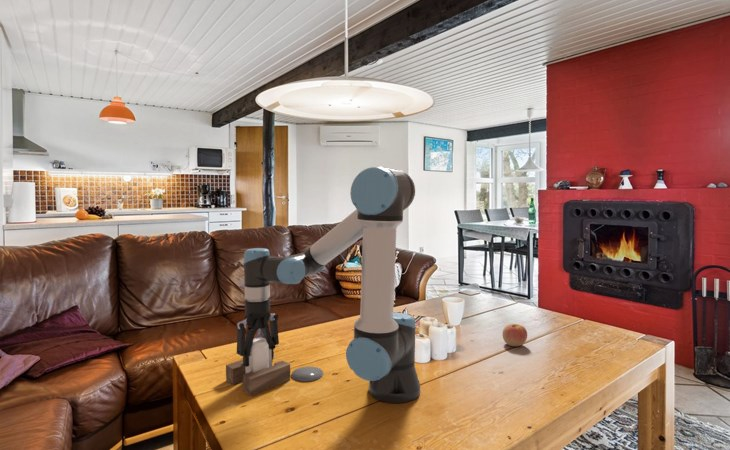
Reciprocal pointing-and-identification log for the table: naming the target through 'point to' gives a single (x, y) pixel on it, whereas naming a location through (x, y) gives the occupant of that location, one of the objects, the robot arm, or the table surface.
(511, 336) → the apple
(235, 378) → the notched wooden bars
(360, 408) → the table surface
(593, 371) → the table surface
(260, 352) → the beverage can
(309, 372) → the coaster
